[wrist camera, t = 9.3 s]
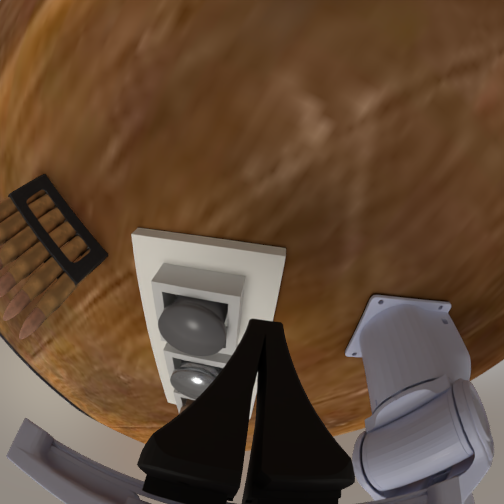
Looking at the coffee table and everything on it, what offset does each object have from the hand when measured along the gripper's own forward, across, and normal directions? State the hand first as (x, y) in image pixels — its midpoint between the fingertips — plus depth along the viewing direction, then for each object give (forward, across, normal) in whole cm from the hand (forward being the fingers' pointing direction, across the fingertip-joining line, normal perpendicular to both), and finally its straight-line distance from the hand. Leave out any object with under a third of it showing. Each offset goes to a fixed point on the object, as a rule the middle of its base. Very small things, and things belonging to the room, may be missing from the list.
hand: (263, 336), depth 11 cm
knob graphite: (+9, +5, +7) cm, 12 cm away
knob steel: (+9, +5, +15) cm, 18 cm away
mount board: (+10, +5, +14) cm, 18 cm away
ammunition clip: (+10, +19, +1) cm, 22 cm away
